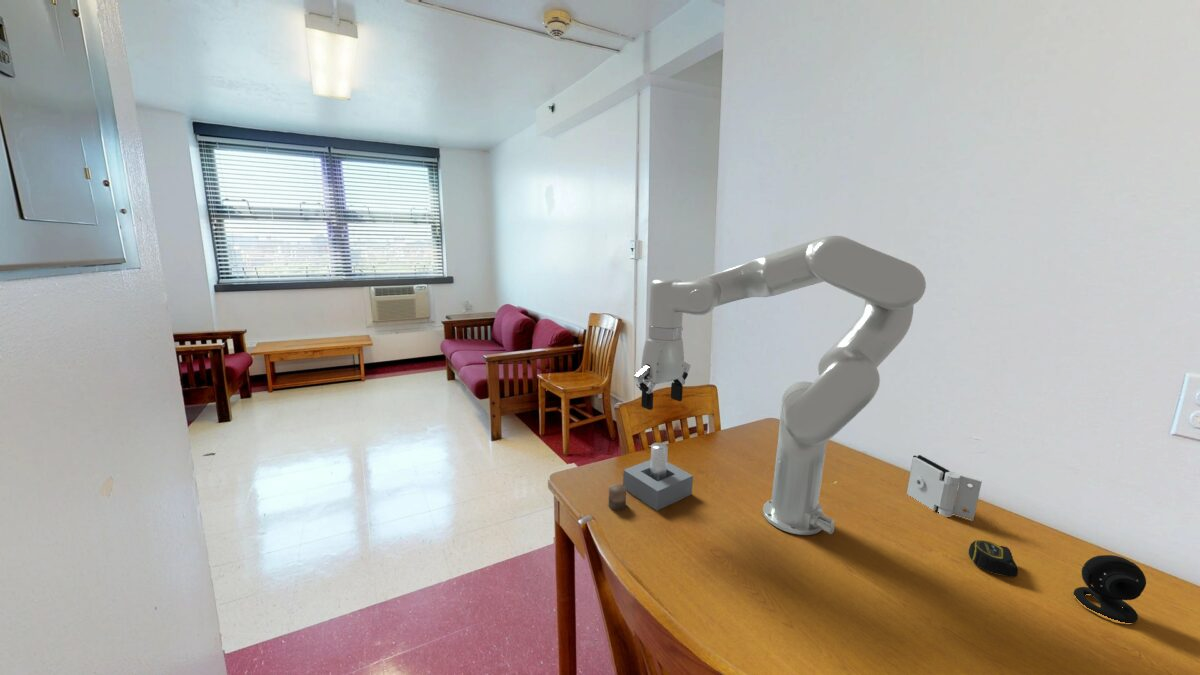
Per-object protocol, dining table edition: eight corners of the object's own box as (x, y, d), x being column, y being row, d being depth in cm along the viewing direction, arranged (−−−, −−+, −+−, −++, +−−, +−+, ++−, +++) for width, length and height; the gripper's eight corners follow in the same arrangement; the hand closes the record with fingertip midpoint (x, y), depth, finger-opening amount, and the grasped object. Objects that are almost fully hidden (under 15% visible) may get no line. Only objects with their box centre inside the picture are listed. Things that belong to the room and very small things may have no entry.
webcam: (1088, 617, 76) (1103, 566, 74) (1062, 586, 83) (1075, 538, 81) (1150, 632, 73) (1168, 579, 71) (1118, 598, 80) (1133, 549, 78)
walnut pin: (629, 506, 105) (629, 489, 104) (615, 512, 103) (616, 494, 102) (618, 498, 108) (618, 481, 107) (605, 504, 106) (605, 487, 105)
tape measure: (1016, 584, 83) (1020, 567, 82) (969, 569, 87) (973, 552, 86) (1009, 563, 89) (1013, 546, 88) (965, 550, 92) (968, 533, 92)
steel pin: (668, 492, 111) (671, 447, 109) (657, 497, 109) (659, 451, 106) (657, 485, 114) (659, 441, 112) (645, 490, 112) (647, 445, 110)
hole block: (691, 494, 111) (693, 475, 110) (656, 510, 104) (657, 491, 102) (657, 474, 120) (658, 456, 119) (622, 488, 113) (623, 469, 112)
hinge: (975, 521, 102) (983, 481, 100) (960, 526, 100) (969, 485, 98) (913, 490, 115) (919, 453, 112) (899, 494, 113) (905, 457, 110)
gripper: (678, 326, 111) (675, 392, 115) (625, 334, 101) (623, 406, 105) (702, 331, 106) (698, 401, 109) (648, 340, 95) (646, 416, 99)
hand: (662, 403), depth 107 cm, fingers open, 9 cm apart
